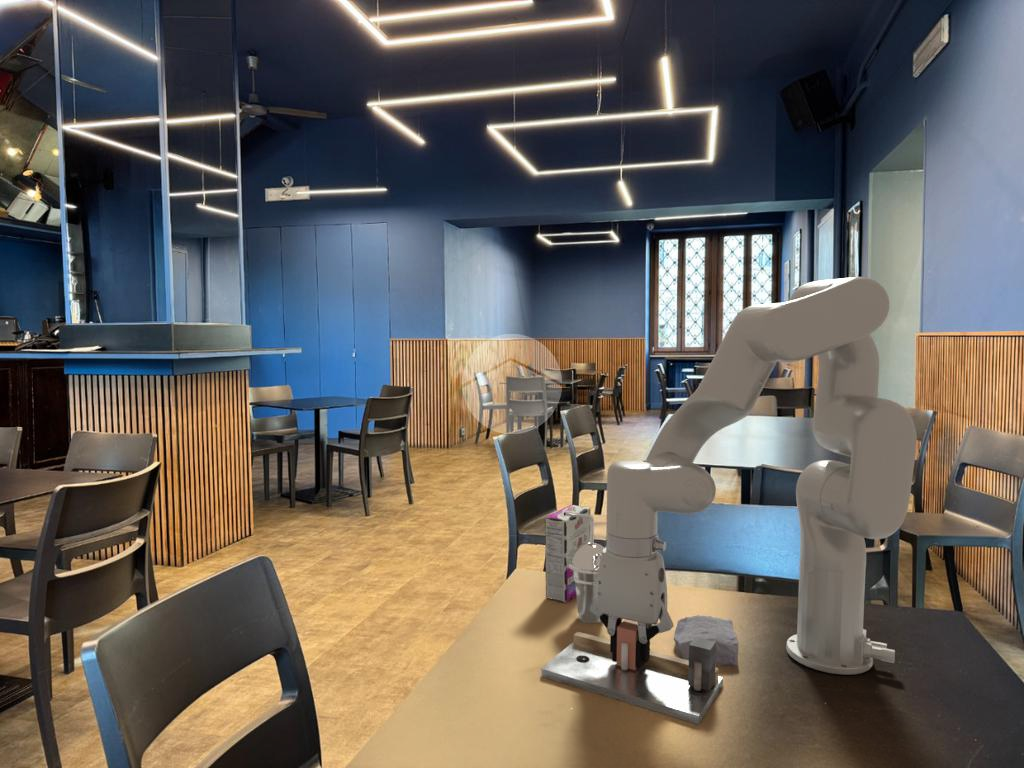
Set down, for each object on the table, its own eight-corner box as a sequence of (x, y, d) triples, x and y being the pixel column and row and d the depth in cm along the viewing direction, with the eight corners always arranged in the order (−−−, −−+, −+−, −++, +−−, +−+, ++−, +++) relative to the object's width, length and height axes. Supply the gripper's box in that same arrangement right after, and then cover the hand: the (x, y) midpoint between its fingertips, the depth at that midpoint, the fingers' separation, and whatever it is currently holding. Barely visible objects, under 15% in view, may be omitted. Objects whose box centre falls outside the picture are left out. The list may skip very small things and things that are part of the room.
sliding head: (642, 662, 105) (643, 624, 105) (632, 673, 102) (633, 634, 101) (624, 657, 107) (624, 619, 106) (613, 667, 103) (614, 629, 103)
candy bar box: (569, 580, 143) (570, 503, 142) (591, 585, 140) (592, 507, 139) (543, 598, 134) (543, 516, 132) (566, 604, 131) (566, 520, 130)
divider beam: (718, 678, 101) (719, 637, 100) (706, 696, 96) (708, 652, 95) (577, 640, 113) (577, 603, 112) (561, 654, 108) (561, 616, 107)
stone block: (679, 673, 108) (744, 667, 106) (673, 644, 108) (738, 637, 106) (676, 643, 120) (734, 636, 118) (670, 616, 120) (729, 609, 118)
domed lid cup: (612, 630, 120) (613, 517, 118) (561, 625, 122) (562, 514, 120) (615, 610, 128) (617, 505, 126) (567, 606, 130) (568, 502, 128)
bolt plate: (722, 685, 101) (723, 676, 101) (698, 724, 91) (698, 715, 91) (577, 645, 114) (577, 637, 114) (541, 676, 104) (541, 667, 104)
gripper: (692, 546, 102) (690, 665, 103) (592, 529, 111) (591, 639, 112) (676, 560, 96) (673, 687, 97) (571, 541, 104) (570, 657, 106)
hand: (629, 660), depth 105 cm, fingers closed on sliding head, 3 cm apart
